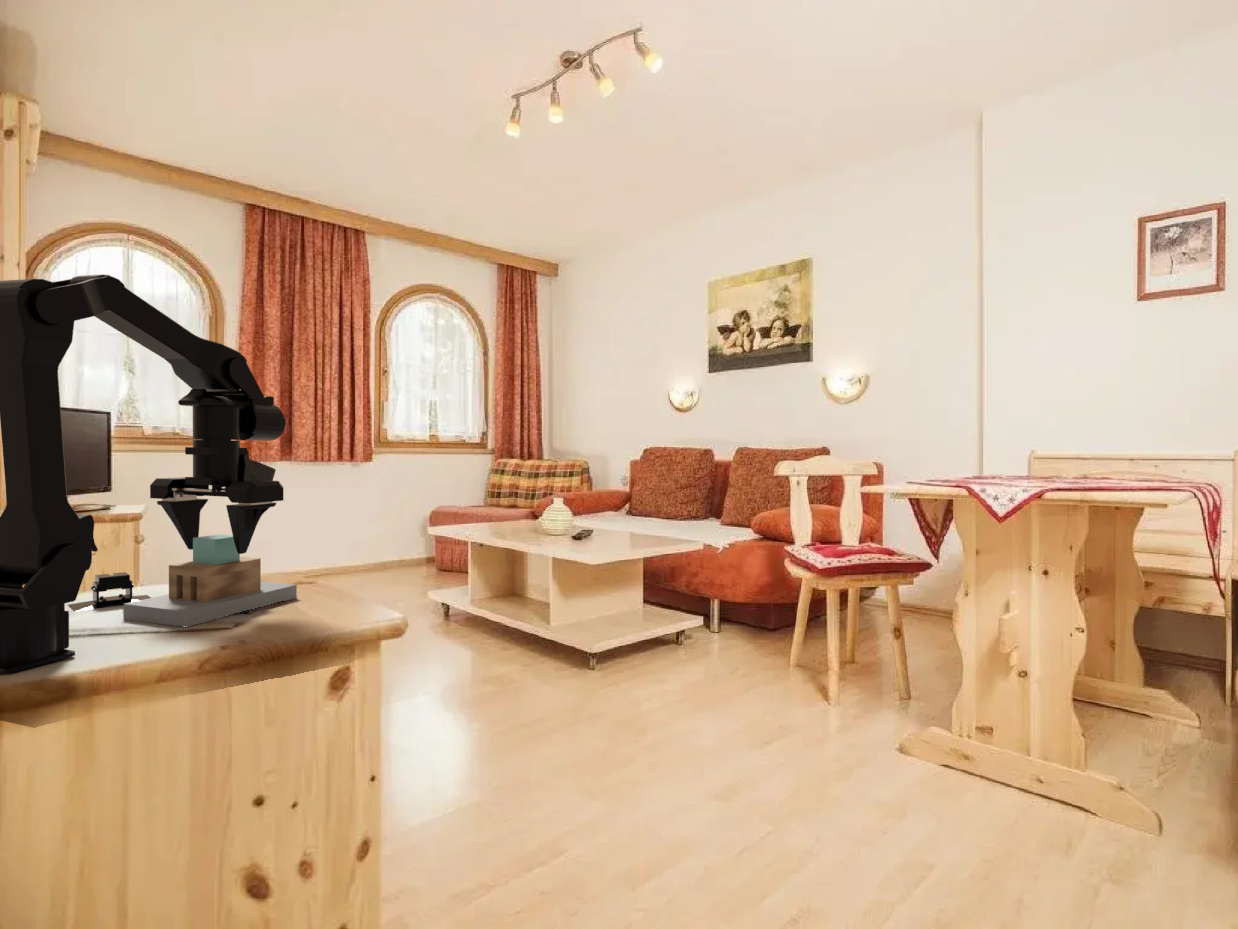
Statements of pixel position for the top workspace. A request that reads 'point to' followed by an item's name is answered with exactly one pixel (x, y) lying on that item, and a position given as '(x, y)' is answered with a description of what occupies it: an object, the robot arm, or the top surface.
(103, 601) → the black open frame block
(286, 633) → the top surface
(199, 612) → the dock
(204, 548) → the teal cube
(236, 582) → the wooden slotted block
